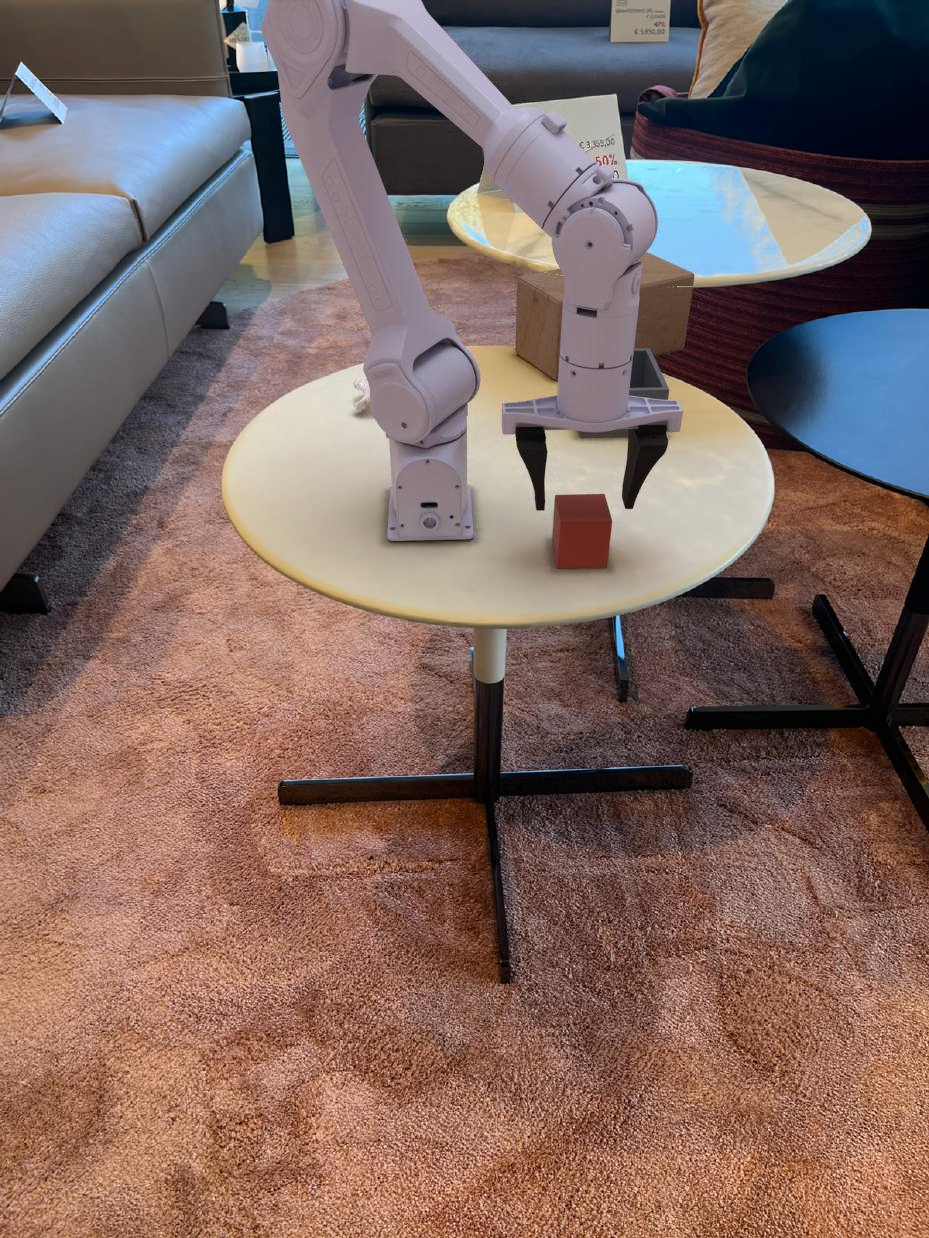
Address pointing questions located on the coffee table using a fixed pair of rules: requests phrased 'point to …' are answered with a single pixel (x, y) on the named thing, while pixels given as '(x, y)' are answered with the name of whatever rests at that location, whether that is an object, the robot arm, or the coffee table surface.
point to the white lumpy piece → (361, 385)
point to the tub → (640, 386)
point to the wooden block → (656, 320)
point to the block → (581, 531)
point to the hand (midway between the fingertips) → (583, 504)
